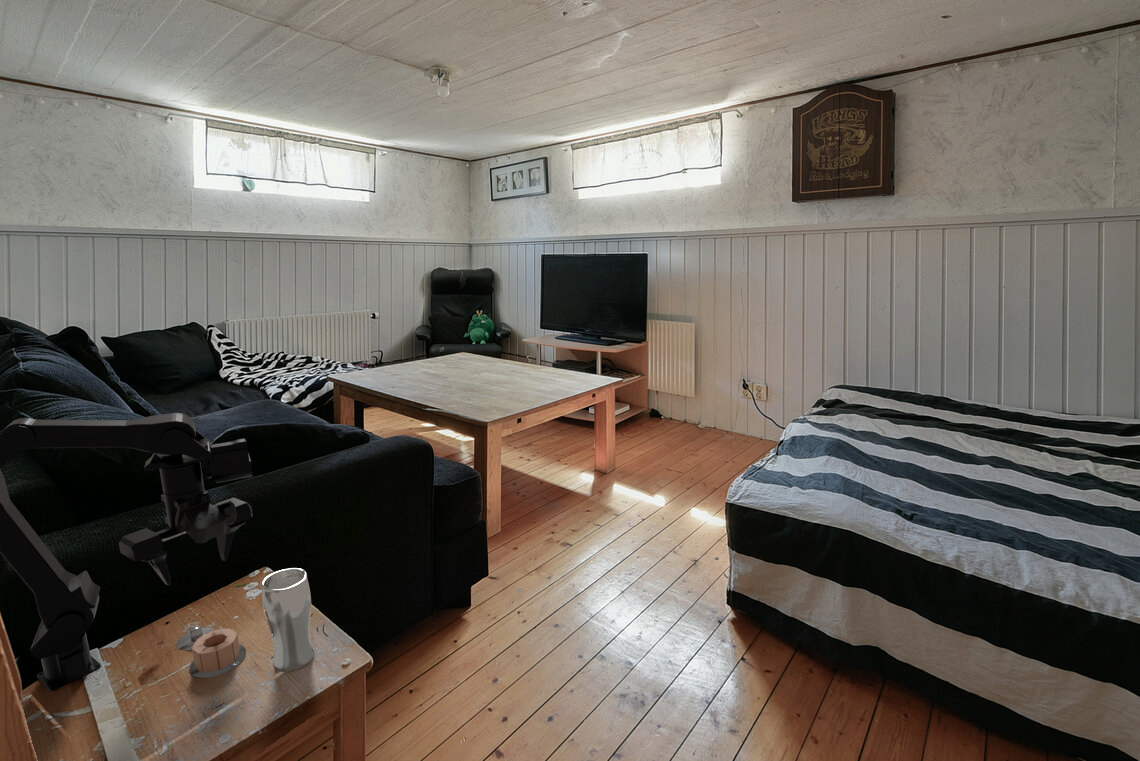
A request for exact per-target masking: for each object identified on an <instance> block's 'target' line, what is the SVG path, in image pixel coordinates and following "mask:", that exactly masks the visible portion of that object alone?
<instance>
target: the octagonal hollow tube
mask: <svg viewBox="0 0 1140 761" xmlns="http://www.w3.org/2000/svg"><path fill="white" fill-rule="evenodd" d="M216 643H221V644H219V645H218V646H215V647H211V646H212V645H213V644H216ZM239 644H240V643H239V637H238V632H236V631H235V630H233V629H232V628H229V627H228V628H222V629H221V628H219V629H216V630H214V632H213V631H211V632H209V633H207V634H205V635H204V636H202V637H200V638H199V639H197V640H196V642H195V644H194V645H193V647H192V650H191V651H192V658H193V660H194V664H195V668H196V669H198V670H199V671H201V672H204V673H206V672H213V671H219V669H220V670H221V669H223V668H225V667H227V666H228V665H230V664H232V663H233V662H234V661H236V659H237V657H238V655H239V653H240V649H239Z"/></svg>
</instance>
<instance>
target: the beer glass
mask: <svg viewBox="0 0 1140 761" xmlns="http://www.w3.org/2000/svg"><path fill="white" fill-rule="evenodd" d="M261 588H262V590H261V591H262V592H261V593H262V595H261V596H262V606H263V607H262V609H263V615H264V617H265V622H266V626H267V627H268V630H269V632H270V633H269V634H270V635H271V640H272V642H273V648H274V654H273V655H274V656H273V666H274V667H275V669H278V670H279V671H280V672H282V673H290V672H291V673H292V672H294V671H298V670H300V669H302V668H304V667H306V666H307V665H308V664H309V663H310V662H311V661H312V660H313V658H314V655H315V652H314V648H313V645H312V642H311V638H310V627H311V626H310V625H311V614H312V597H311V596H312V595H311V590H310V584H309V581H308V573H307V572H306V570H305V569H302V568H297V567H290V568H284V569H283V568H282V569H281V570H280V569H279V570H277V571H274V572H273V573H270V574H269V575H267V576H266V577H265V578H264V579H263V580H262V581H261Z"/></svg>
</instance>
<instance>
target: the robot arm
mask: <svg viewBox="0 0 1140 761" xmlns="http://www.w3.org/2000/svg"><path fill="white" fill-rule="evenodd" d="M81 448H82V449H90V448H91V449H98V448H99V449H101V448H102V449H103V448H105V449H106V448H107V449H108V448H115V449H116V448H125V449H135V450H138V451H141V452H146V453H151V454H152V456H151V457H149V459H147V460H146V461H145V464H144V471H146V472H147V471H148V472H149V471H154V470H159V472H160V474H159V475H160V481H161V485H162V486H161V487H162V492H163V494H160V499H161V502H164V504H165V509H166V510H165V511H166V517H164V522H165V524H167V525H168V527H167V528H165V529H161V530H159V531H156V532H154V531H153V530H150V529H149V528H147V527H146V528H142V529H140V530H137V531H135V532H134V531H133V532H131V533H129V534H126V535H123V536H122V537H121V539H120V540H119V542H118V546H119V552H120V554H122V555H124V556H125V557H127V558H128V559H130V560H131V561H133V562H144V563H148V564H149V565H150V566H151V567H152V568H153V570H154V571H155V572H156V574H157V576H159V578H160V579H161V581H162V582H163V583H164V584H165V585H167V586H170V585H171V584H172V583H171V576H170V573H169V569H168V568H169V567H168V564H167V562H166V558H167V552H165V551H164V550H163V549H164V543H165V542H168V541H170V540H173V539H175V538H178V537H181V536H183V535H185V534H187V535H188V536H189V537H190V538H191V539H192V540H193V542H194V543H196V544H204V543H207V542H208V541H210V540H212V539H215V538H216V543H217V549H218V552H219V556H220V559H221V561H224V562H226V561H227V559H228V556H229V553H230V549H231V545H232V542H233V539H234V536H235V533H236V531H237V530H238V529H239V528H240V527H242V526H243V525H245V524H246V523H247V521H246V520H249V519H252V517H253V516H254V515H253V509H252V506H251V505H250V503H248V502H246V501H243V500H240V499H238V498H237V497H231V498H229V499H225V500H222V501H220V502H216V503H215V504H213V502H212V500H211V496H210V495H209V491H206V490H205V484H204V477H203V471H202V470H203V469H202V465H201V464H202V463H201V462H205V470H206V477H207V479H211V481H212V482H215V483H216V484H218V483H224V482H229V481H235V480H239V479H245V478H251V477H253V467H252V460H251V457H250V453H249V451H248V444H247V439H246V438H239V439H236V440H232V441H227V442H221V443H215V444H211V441H210V440H209V439H208V438H207V437H205V436H204V435H203V434H202V433H201V432H199V431H198V430H197V429H196V424H195V422H194V421H193V419H192V418H191V417H189V416H188V415H187V414H185V413H179V412H173V413H171V412H170V413H163V414H156V415H150V416H149V415H148V416H146V417H140V418H137V419H136V418H135V419H127V420H124V419H122V420H121V419H120V420H119V419H118V420H115V419H114V420H113V419H112V420H111V419H108V420H107V419H106V420H105V419H98V420H97V419H34V418H30V417H22V418H21V417H20V418H17V419H14V420H13V421H11V423H9V424H8V425H6V427H5V428H4V429H2V430H1V431H0V555H1V556H2V557H3V558H4V560H6V562H7V563H8V564H9V566H10V567H12V569H13V570H14V571H15V573H16V574H17V575H18V577H20V579H21V580H22V581H23V582H24V584H25V585H26V586H27V587H28V589H29V590H30V591H31V592H32V594H33V595H34V600H35V603H36V608H37V612H38V616H39V618H40V620H41V622H40V624H39V626H38V629H37V632H36V633H35V636H34V639H33V642H32V644H31V646H30V649H29V652H30V653H31V654H32V656H33V657H34V658H35V659H36V660H40V661H41V666H42V669H43V671H41V672H39V673H37V674H36V678H37V679H38V680H39V681H40V682H41V683H42V684H43V685H44V686H45V687H46V689H48V690H49V691H50V692H54V691H57V690H59V689H60V688H62V687H64V686H67V685H69V684H70V683H73V682H75V681H76V680H78V679H79V680H80V678H83V677H85V676H87V675H88V674H91V673H92V672H94V671H97V670H98V669H100V668H102V664H101V663H100V662H99V661H98V660H96V659H95V658H94V657H93V656H92V655H91V651H90V646H89V642H88V636H87V633H86V632H87V631H88V630H89V628H90V627H91V626H92V625H93V623H94V621H95V616H96V613H97V609H98V605H99V602H100V595H99V594H100V590H101V586H99V585H98V584H96V583H95V582H93V580H92V578H91V576H90V575H89V573H88V571H87V570H84V571H82V572H81V573H80V574H78V575H76V574H73V573H71V572H69V571H67V570H66V569H65V568H64V566H63V565H62V564H61V563H60V561H58V559H57V558H56V557H55V556H54V554H53V553H52V552H51V550H50V548H48V547H47V545H46V544H45V543H44V541H43V540H42V539H41V537H40V536H39V535H38V533H37V532H36V531H35V530H34V529H33V527H32V526H31V525H30V523H29V522H28V521H27V520H26V519H25V517H24V516H23V514H22V513H21V511H20V510H19V509H18V508H17V507H16V506H15V505H14V503H13V502H12V501H11V499H10V494H9V490H8V487H7V486H8V485H7V483H6V478H5V476H4V474H3V472H2V468H3V467H4V466H6V465H7V464H8V463H9V462H11V461H12V460H13V459H15V458H16V457H18V456H19V455H20V454H21V453H23V452H24V451H25V450H29V449H81ZM86 674H87V675H86ZM84 675H85V676H84Z"/></svg>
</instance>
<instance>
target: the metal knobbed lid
mask: <svg viewBox="0 0 1140 761" xmlns="http://www.w3.org/2000/svg"><path fill="white" fill-rule="evenodd" d="M214 630H217V629H215V628H214V627H209V626H208V627H202V625H201V624H196V625H193V626H192V627H190V628H189V632H187V633H185V634H184V635H182V636H180V638H179V639H178V640H177V641H176V648H177V649H179V650H180V651H181V650H183V651H192V647H193V645H194V644H195V642H196V640H197V639H199V638H200V637H202V636H204V635H205V634H207V633H209V632H211V631H213V632H214Z"/></svg>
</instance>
